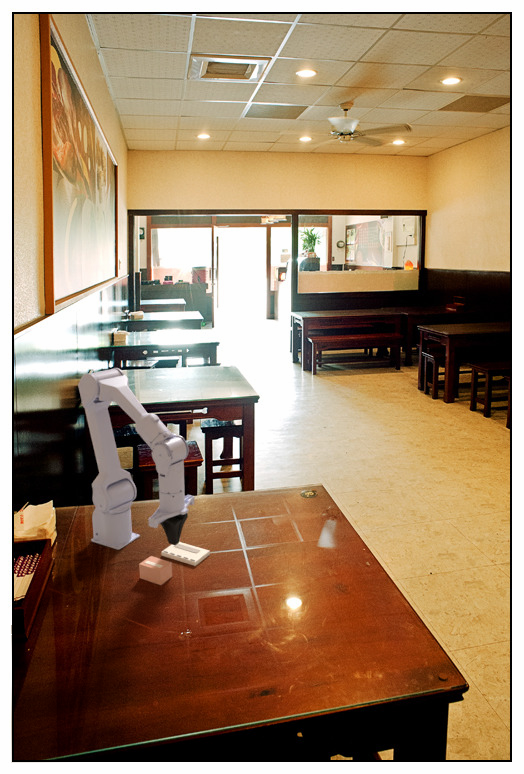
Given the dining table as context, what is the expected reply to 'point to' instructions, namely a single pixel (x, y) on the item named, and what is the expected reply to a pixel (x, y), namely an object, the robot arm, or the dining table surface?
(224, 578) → the dining table surface
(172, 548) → the white slotted panel
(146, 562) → the pink rectangular block
